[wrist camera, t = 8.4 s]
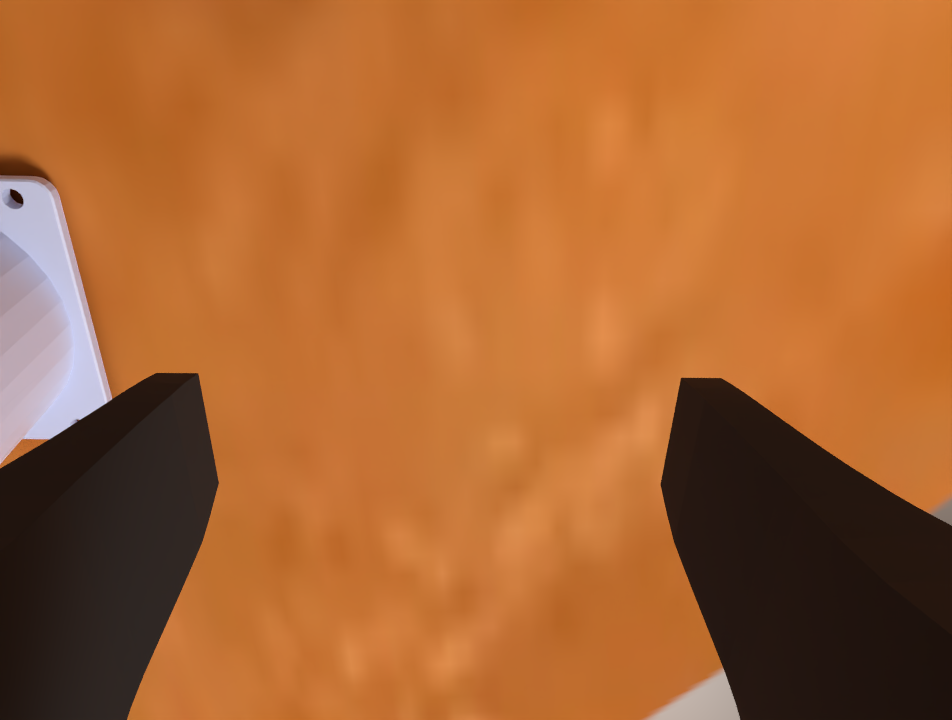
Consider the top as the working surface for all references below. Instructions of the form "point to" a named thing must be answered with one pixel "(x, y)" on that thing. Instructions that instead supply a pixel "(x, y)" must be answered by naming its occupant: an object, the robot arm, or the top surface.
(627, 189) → the top surface
